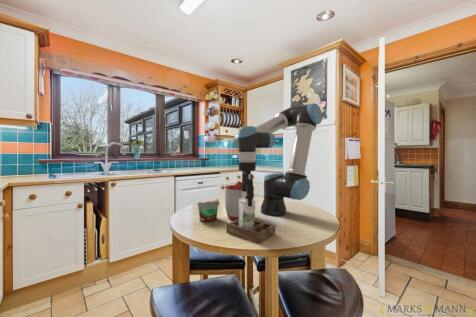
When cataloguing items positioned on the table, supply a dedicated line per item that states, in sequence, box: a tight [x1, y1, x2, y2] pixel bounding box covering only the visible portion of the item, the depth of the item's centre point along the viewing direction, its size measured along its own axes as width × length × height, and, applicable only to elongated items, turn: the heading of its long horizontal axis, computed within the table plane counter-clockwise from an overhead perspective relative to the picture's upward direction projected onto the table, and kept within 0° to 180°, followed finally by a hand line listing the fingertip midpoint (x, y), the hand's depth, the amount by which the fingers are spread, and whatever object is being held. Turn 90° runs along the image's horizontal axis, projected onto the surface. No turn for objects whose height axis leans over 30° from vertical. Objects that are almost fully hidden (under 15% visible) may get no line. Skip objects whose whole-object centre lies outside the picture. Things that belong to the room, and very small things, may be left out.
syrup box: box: [238, 198, 256, 229], centre depth 98 cm, size 6×6×14 cm
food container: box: [197, 198, 220, 223], centre depth 113 cm, size 12×6×10 cm, turn 131°
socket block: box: [226, 219, 276, 245], centre depth 96 cm, size 12×18×4 cm
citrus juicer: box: [224, 180, 254, 221], centre depth 119 cm, size 16×17×20 cm
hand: (247, 209), depth 98 cm, fingers open, 13 cm apart
